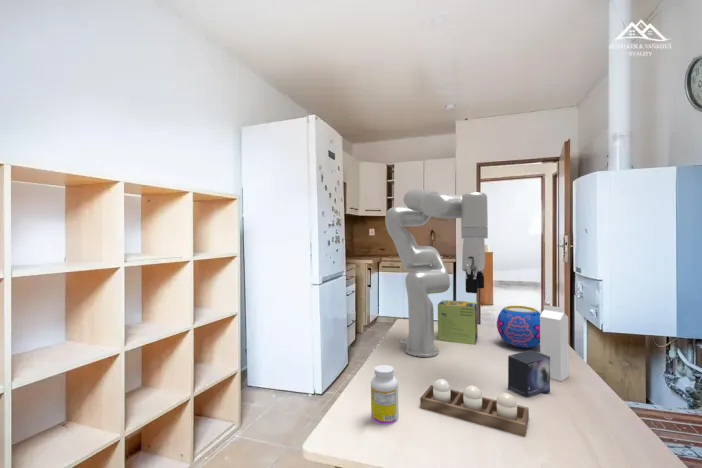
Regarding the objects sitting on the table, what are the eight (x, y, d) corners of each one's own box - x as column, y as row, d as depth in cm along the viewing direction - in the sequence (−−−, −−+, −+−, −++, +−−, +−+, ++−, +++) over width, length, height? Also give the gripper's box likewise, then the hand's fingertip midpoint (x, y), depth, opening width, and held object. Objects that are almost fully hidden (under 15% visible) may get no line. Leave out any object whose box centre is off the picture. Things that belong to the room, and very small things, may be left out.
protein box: (475, 344, 137) (475, 306, 137) (437, 340, 144) (437, 303, 144) (478, 337, 147) (477, 301, 147) (442, 333, 153) (441, 299, 153)
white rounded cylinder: (431, 406, 88) (430, 380, 88) (436, 399, 91) (436, 374, 91) (447, 410, 85) (447, 384, 85) (452, 403, 89) (452, 378, 89)
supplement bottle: (378, 410, 87) (377, 361, 87) (402, 417, 84) (401, 366, 84) (366, 423, 81) (365, 370, 81) (391, 431, 78) (391, 376, 78)
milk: (561, 382, 102) (560, 309, 102) (540, 375, 107) (539, 306, 107) (569, 376, 106) (568, 306, 106) (548, 370, 111) (547, 303, 111)
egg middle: (461, 414, 84) (461, 387, 84) (466, 406, 87) (465, 380, 87) (480, 419, 81) (479, 391, 81) (483, 411, 85) (483, 384, 85)
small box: (527, 401, 91) (527, 362, 91) (506, 391, 97) (506, 355, 97) (551, 392, 96) (551, 355, 96) (530, 383, 101) (530, 349, 101)
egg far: (495, 423, 79) (495, 395, 79) (498, 414, 83) (498, 387, 83) (516, 428, 77) (515, 399, 77) (518, 419, 81) (517, 392, 81)
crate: (420, 410, 87) (420, 397, 87) (431, 396, 94) (431, 384, 94) (525, 439, 74) (525, 425, 74) (528, 421, 81) (528, 407, 81)
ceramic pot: (547, 343, 138) (546, 306, 138) (544, 356, 123) (544, 315, 123) (500, 336, 147) (500, 302, 147) (493, 348, 132) (493, 310, 132)
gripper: (468, 233, 111) (469, 285, 111) (454, 234, 96) (455, 293, 96) (492, 233, 107) (493, 287, 107) (481, 233, 92) (482, 296, 93)
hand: (475, 290), depth 102 cm, fingers open, 9 cm apart
